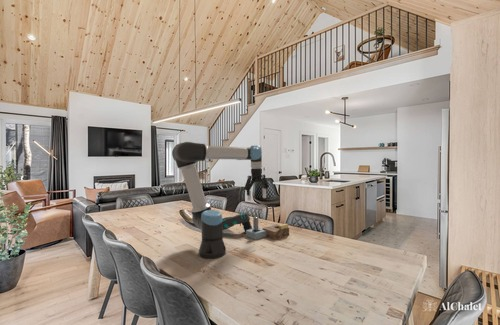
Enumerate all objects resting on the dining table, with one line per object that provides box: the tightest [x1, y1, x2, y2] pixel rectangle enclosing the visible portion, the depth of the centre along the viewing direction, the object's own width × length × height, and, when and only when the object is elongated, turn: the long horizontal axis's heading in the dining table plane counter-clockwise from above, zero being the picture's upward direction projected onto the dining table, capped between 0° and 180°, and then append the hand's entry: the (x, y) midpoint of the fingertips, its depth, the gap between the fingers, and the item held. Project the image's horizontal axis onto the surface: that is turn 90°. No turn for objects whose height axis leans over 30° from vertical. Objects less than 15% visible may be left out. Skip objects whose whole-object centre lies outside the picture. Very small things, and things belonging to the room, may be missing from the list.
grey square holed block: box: [245, 227, 267, 241], centre depth 166 cm, size 10×10×4 cm
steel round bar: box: [252, 216, 259, 232], centre depth 166 cm, size 3×3×13 cm
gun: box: [222, 211, 253, 235], centre depth 176 cm, size 7×29×15 cm, turn 85°
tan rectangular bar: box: [278, 223, 289, 229], centre depth 166 cm, size 7×2×2 cm, turn 128°
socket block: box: [261, 224, 290, 240], centre depth 168 cm, size 14×12×5 cm
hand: (257, 199), depth 167 cm, fingers open, 13 cm apart
